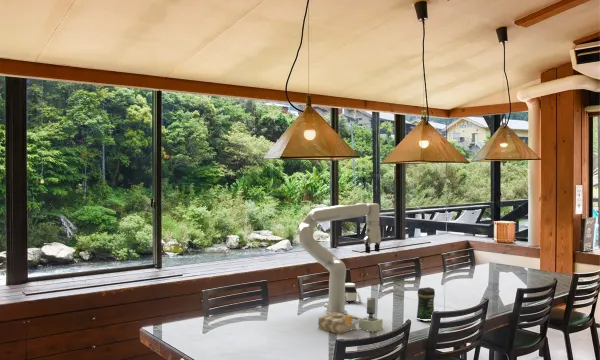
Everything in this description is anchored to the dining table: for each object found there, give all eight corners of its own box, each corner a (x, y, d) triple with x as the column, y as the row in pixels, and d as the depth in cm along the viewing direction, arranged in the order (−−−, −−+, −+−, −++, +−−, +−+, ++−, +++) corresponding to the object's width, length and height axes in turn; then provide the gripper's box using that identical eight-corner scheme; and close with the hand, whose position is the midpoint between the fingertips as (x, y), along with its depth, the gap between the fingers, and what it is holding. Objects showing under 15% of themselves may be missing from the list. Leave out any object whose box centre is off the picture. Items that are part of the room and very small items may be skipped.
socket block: (318, 328, 258) (318, 316, 258) (334, 322, 269) (334, 312, 269) (339, 334, 249) (339, 322, 249) (355, 328, 259) (355, 317, 259)
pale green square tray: (358, 328, 259) (359, 319, 259) (368, 325, 266) (368, 316, 266) (373, 332, 253) (373, 322, 253) (382, 328, 260) (382, 319, 260)
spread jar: (340, 300, 322) (341, 282, 322) (356, 299, 326) (356, 281, 326) (348, 304, 311) (349, 286, 311) (364, 303, 315) (364, 285, 315)
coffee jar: (424, 323, 272) (425, 289, 272) (414, 319, 278) (415, 287, 279) (436, 320, 277) (437, 288, 277) (426, 317, 283) (427, 285, 284)
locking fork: (332, 322, 247) (332, 313, 247) (349, 317, 257) (349, 308, 257) (348, 326, 240) (348, 317, 240) (364, 321, 251) (364, 311, 251)
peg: (364, 328, 259) (365, 298, 259) (369, 326, 262) (370, 297, 262) (371, 330, 256) (372, 300, 256) (376, 328, 259) (376, 298, 260)
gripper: (369, 224, 283) (369, 254, 283) (386, 223, 296) (385, 251, 296) (359, 224, 288) (358, 252, 288) (375, 222, 301) (375, 250, 301)
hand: (372, 252), depth 292 cm, fingers open, 9 cm apart
